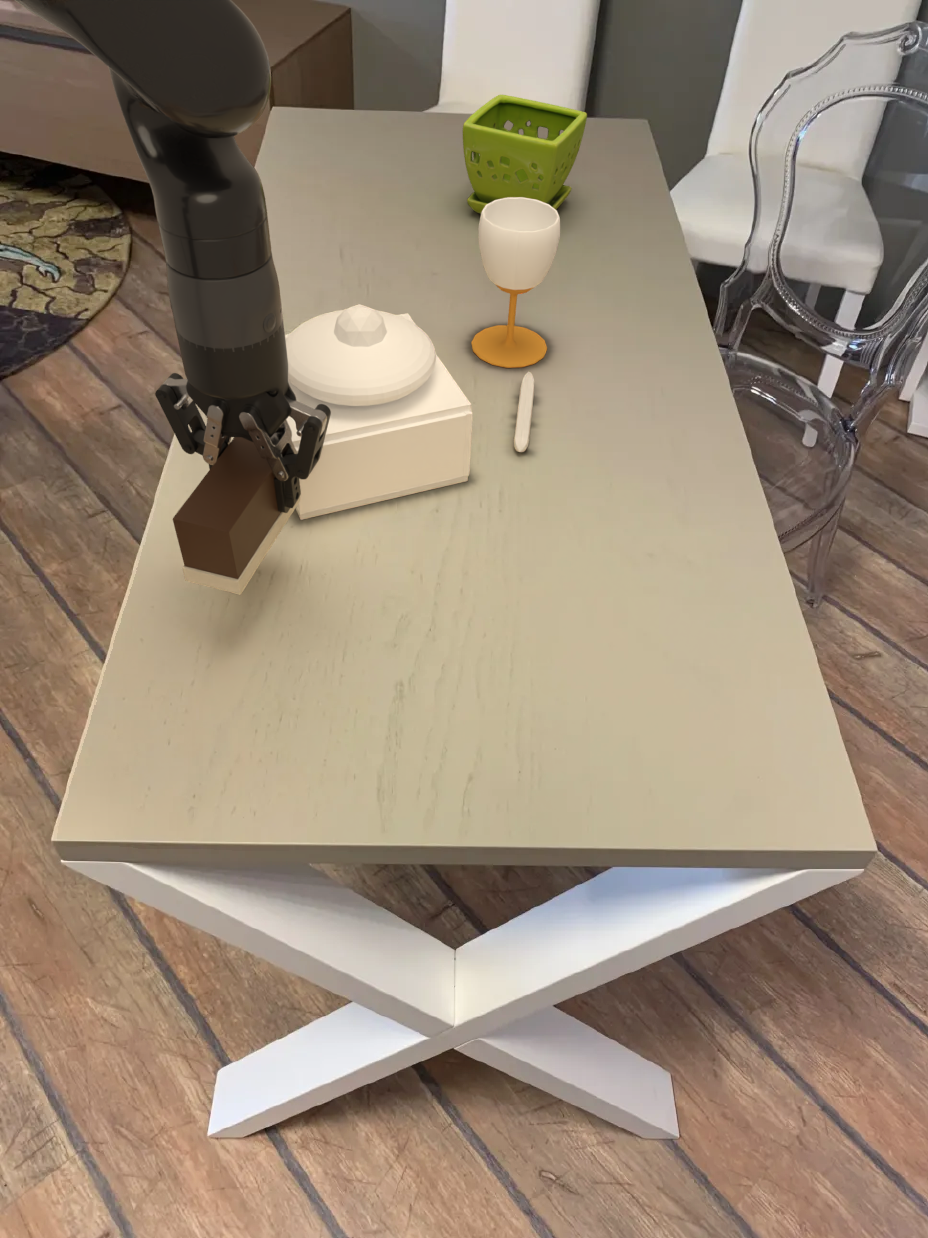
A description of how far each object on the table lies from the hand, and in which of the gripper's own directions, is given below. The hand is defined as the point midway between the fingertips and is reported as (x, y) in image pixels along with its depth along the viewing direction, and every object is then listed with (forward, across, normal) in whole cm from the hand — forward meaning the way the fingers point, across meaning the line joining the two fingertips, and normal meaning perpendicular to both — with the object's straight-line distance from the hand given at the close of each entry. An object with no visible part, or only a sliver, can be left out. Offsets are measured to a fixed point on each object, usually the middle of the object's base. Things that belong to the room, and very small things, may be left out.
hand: (257, 498), depth 79 cm
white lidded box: (+9, -1, -20) cm, 22 cm away
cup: (+9, -11, -44) cm, 46 cm away
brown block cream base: (+2, 0, +3) cm, 4 cm away
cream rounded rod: (+9, -16, -31) cm, 36 cm away
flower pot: (+9, -3, -80) cm, 80 cm away
